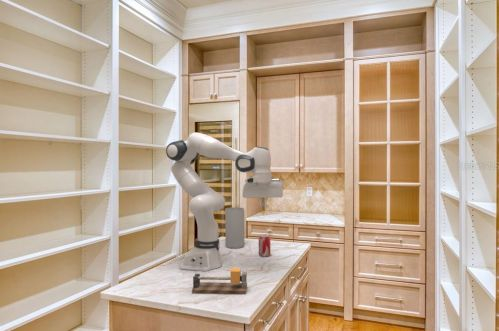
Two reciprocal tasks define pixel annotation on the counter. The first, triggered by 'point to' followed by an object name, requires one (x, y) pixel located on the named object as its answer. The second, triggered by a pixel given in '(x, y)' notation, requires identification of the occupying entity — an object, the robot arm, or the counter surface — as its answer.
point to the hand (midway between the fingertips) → (262, 206)
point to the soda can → (264, 245)
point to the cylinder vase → (234, 227)
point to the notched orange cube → (235, 275)
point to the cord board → (219, 285)
